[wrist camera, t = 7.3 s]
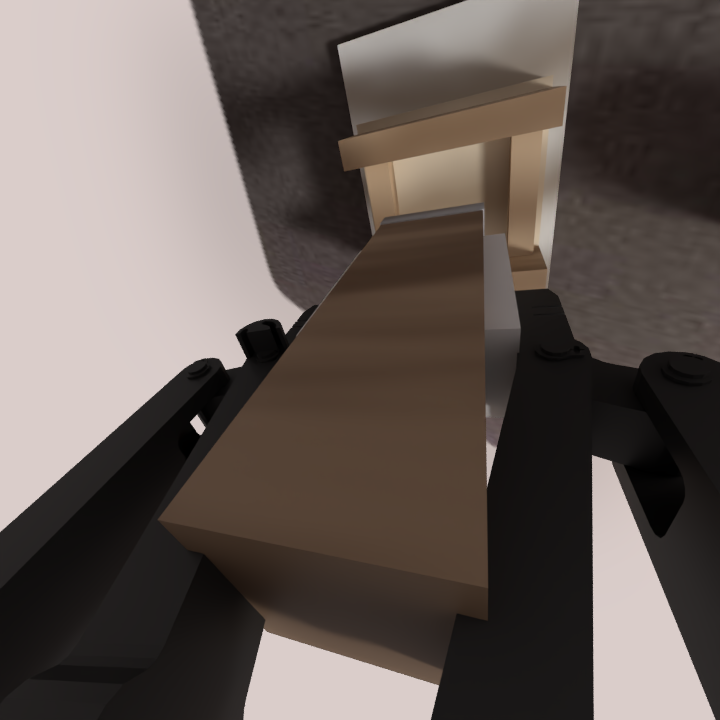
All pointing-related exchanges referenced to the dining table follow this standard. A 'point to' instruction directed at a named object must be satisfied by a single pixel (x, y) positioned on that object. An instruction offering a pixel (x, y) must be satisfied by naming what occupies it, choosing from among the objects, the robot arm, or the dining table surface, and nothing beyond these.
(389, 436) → the tall wooden block
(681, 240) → the dining table surface
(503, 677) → the robot arm
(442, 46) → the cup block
